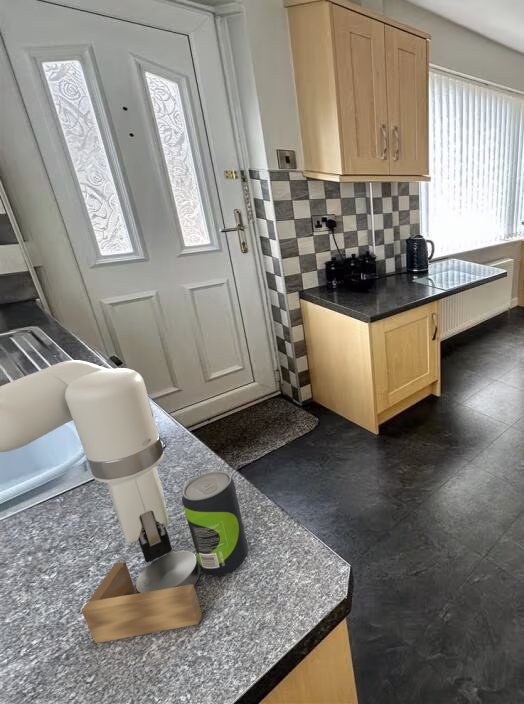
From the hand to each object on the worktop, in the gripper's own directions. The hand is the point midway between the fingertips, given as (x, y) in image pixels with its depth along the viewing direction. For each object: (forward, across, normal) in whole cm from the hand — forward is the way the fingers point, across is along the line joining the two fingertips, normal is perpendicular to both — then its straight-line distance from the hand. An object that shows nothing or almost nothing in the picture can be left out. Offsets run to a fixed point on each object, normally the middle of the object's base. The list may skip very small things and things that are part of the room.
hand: (158, 553), depth 65 cm
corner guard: (+1, +9, -1) cm, 10 cm away
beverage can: (+2, +7, +7) cm, 10 cm away
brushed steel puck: (+1, +6, 0) cm, 6 cm away
